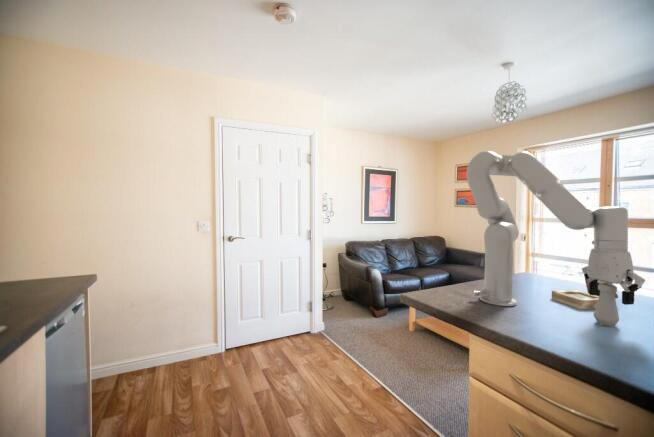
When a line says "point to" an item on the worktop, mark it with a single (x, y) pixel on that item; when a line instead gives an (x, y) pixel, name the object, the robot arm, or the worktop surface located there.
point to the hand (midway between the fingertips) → (610, 299)
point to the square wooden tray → (576, 298)
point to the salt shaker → (606, 306)
